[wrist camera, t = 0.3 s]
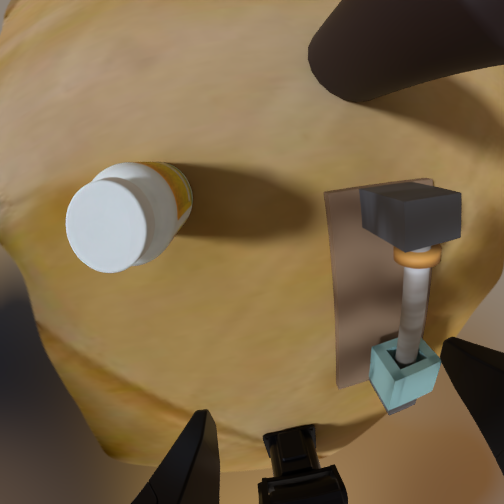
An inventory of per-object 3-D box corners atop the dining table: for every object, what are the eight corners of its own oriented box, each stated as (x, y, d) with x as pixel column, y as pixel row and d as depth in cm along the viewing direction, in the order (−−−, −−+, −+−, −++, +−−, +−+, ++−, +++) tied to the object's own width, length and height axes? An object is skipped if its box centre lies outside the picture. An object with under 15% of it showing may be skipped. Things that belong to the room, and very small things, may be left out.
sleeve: (409, 361, 23) (431, 390, 19) (368, 376, 23) (388, 410, 19) (414, 331, 22) (441, 360, 17) (371, 346, 22) (395, 381, 17)
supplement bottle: (181, 242, 20) (147, 306, 11) (117, 221, 19) (48, 266, 10) (204, 173, 19) (180, 184, 10) (136, 153, 18) (66, 151, 9)
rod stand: (413, 355, 27) (443, 393, 20) (336, 383, 26) (357, 431, 20) (425, 177, 20) (482, 189, 13) (323, 191, 20) (366, 208, 13)
